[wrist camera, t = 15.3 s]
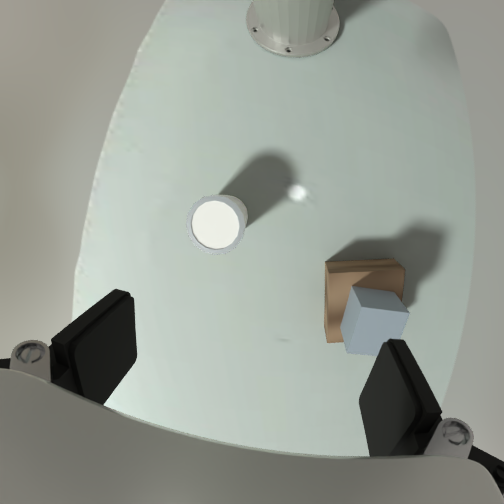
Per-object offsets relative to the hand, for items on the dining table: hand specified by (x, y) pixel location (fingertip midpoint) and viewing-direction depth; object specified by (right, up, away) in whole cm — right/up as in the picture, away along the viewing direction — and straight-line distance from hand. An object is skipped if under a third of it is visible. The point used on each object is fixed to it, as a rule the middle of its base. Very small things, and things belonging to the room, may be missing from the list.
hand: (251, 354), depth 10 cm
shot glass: (-3, +8, +30) cm, 31 cm away
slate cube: (+15, -4, +26) cm, 30 cm away
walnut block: (+15, -2, +31) cm, 34 cm away
